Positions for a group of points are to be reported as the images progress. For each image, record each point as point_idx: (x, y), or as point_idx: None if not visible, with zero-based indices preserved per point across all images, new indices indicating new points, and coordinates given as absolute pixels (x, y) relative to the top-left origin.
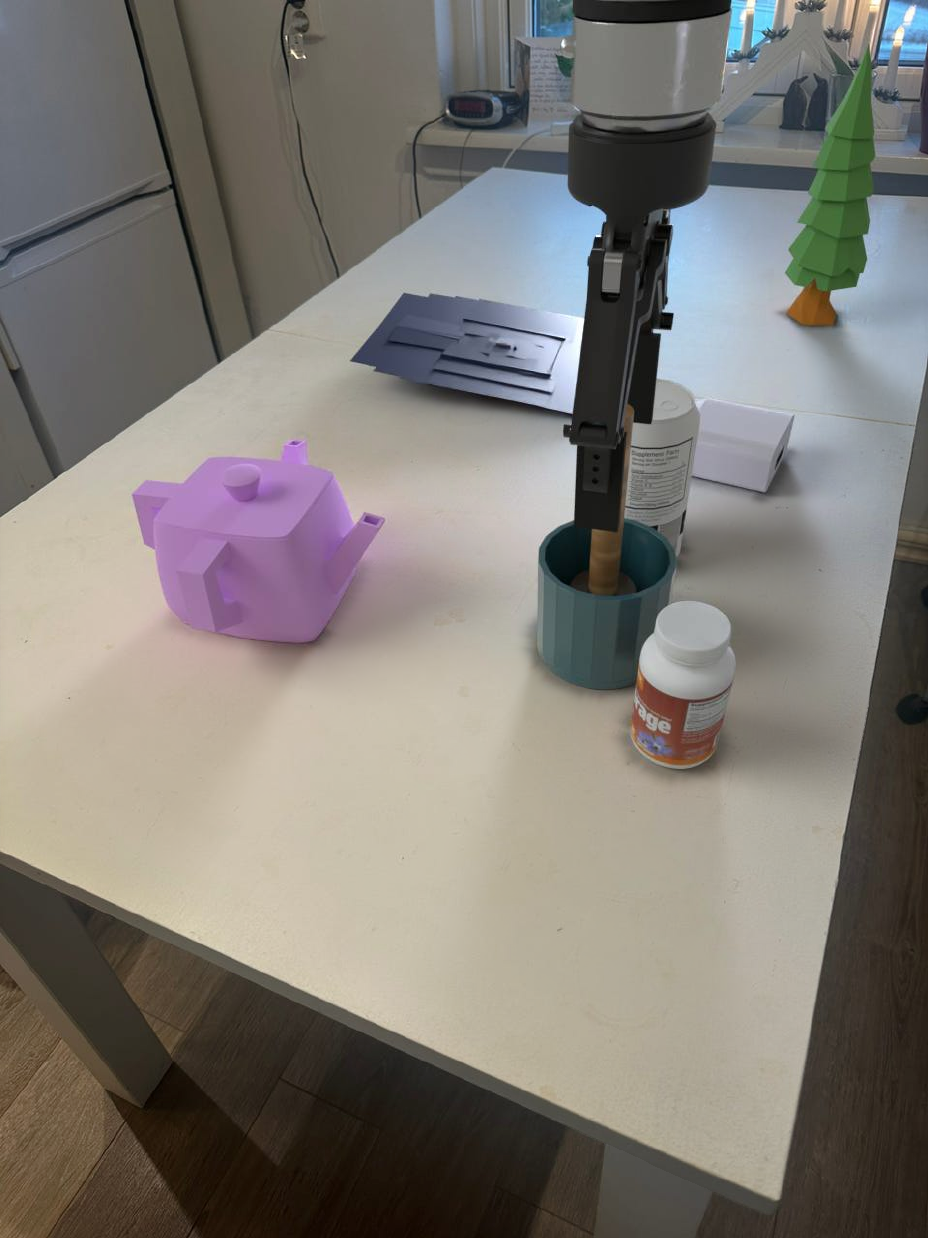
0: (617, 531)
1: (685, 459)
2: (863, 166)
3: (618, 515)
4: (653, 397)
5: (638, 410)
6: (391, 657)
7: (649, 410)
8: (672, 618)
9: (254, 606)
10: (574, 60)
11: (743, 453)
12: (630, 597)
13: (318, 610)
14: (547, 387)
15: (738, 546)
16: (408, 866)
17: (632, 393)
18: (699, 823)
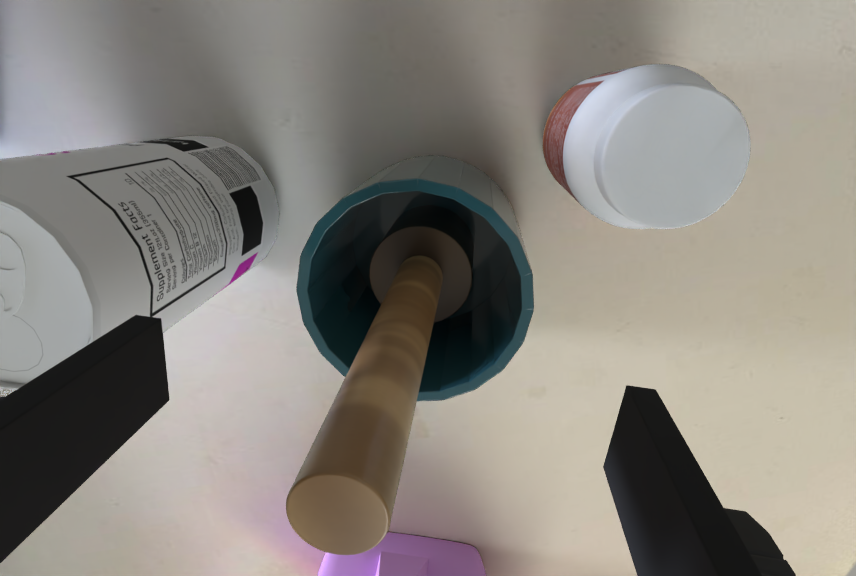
0: (424, 313)
1: (120, 179)
2: None
3: (671, 417)
4: (108, 354)
5: (141, 366)
6: (489, 471)
7: (137, 342)
8: (659, 201)
9: None
10: None
11: None
12: (523, 257)
13: (466, 573)
14: None
15: (160, 35)
16: (792, 411)
17: (111, 409)
18: (747, 99)
